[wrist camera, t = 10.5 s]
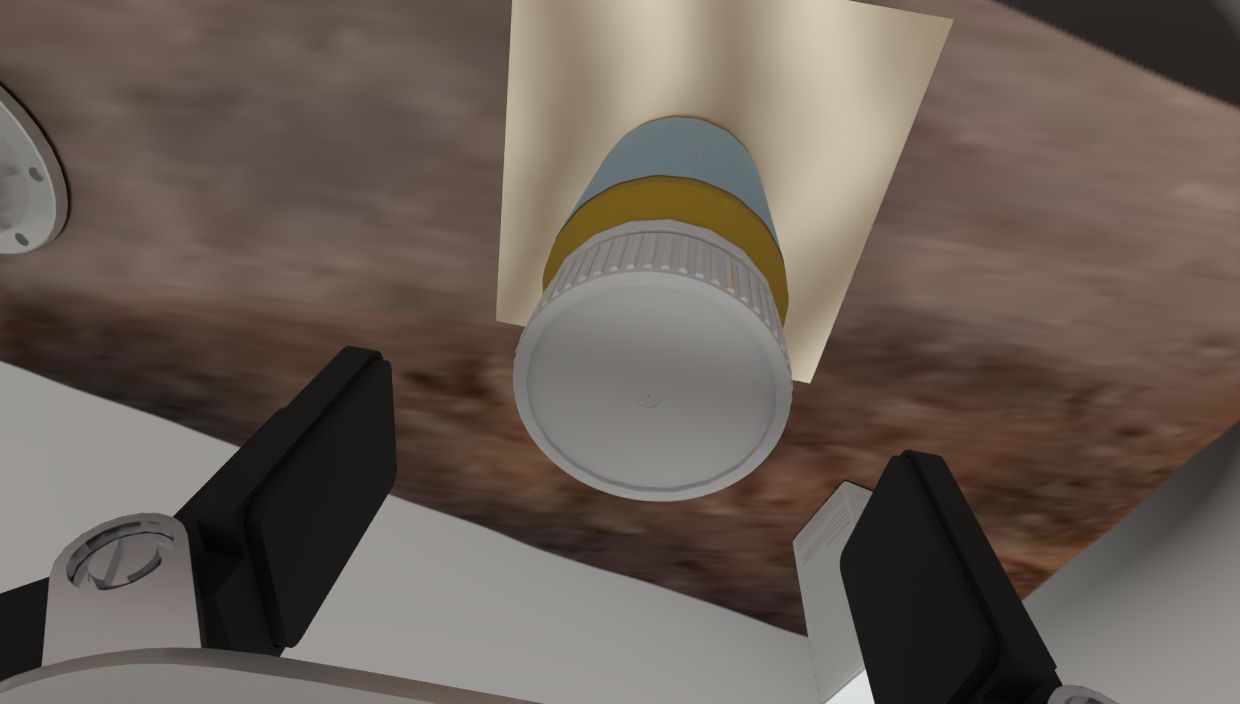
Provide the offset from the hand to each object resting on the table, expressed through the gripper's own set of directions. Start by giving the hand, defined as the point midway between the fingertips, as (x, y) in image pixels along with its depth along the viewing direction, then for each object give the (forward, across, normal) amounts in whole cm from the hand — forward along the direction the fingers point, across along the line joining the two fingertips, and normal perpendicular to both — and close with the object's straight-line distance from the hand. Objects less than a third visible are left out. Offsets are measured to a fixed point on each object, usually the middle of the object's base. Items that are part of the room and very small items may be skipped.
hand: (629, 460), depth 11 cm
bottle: (+17, -1, 0) cm, 17 cm away
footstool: (+25, -1, 0) cm, 25 cm away
